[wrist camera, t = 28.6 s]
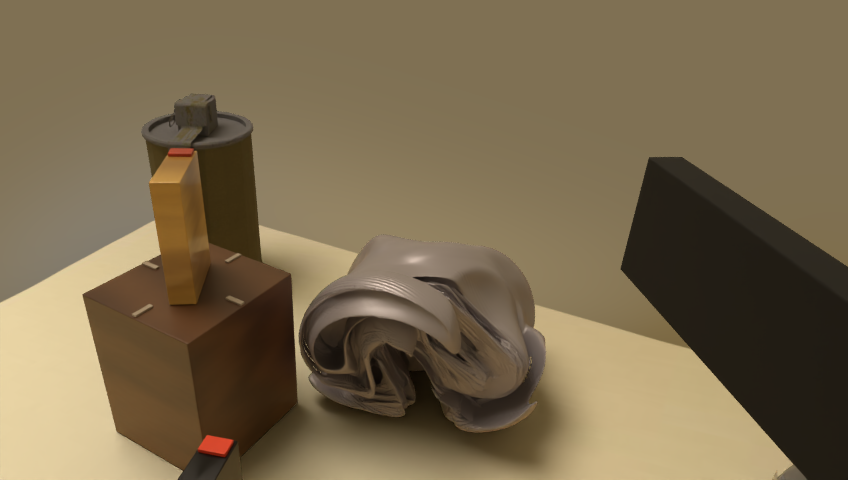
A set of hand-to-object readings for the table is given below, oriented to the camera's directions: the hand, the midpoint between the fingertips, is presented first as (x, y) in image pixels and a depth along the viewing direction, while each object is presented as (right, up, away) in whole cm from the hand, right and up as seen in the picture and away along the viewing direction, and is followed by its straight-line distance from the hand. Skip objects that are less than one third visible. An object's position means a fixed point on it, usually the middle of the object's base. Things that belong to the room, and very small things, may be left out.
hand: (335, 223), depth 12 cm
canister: (-22, -4, +56) cm, 60 cm away
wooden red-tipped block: (-15, -3, +31) cm, 35 cm away
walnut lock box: (-16, -15, +38) cm, 43 cm away
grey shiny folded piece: (+2, -14, +42) cm, 45 cm away
